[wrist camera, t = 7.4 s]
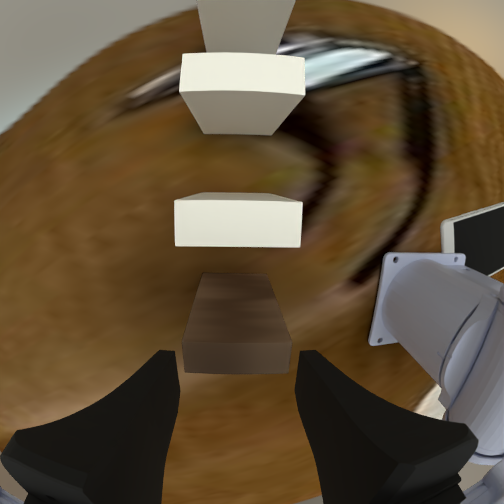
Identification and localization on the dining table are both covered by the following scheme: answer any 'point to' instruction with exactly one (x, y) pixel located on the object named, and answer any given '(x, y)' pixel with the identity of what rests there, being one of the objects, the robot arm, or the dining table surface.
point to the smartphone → (477, 238)
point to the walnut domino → (236, 327)
